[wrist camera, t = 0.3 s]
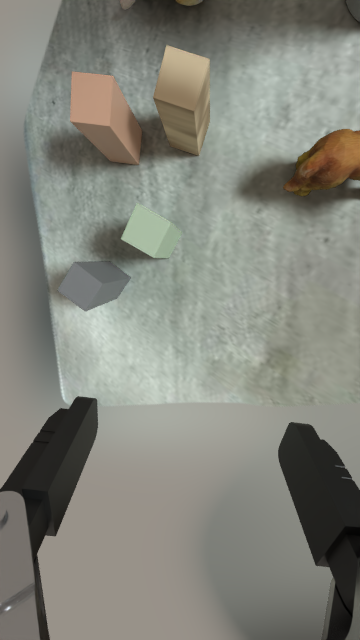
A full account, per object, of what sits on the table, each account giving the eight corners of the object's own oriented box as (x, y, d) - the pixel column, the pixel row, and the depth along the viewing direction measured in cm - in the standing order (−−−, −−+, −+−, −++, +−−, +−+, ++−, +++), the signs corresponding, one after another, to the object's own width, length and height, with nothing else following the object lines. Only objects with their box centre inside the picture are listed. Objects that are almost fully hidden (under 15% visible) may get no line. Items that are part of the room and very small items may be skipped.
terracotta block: (113, 127, 32) (71, 71, 23) (142, 131, 32) (113, 75, 22) (110, 161, 33) (70, 121, 24) (138, 165, 33) (109, 126, 23)
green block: (157, 218, 34) (137, 202, 25) (182, 232, 34) (171, 222, 25) (145, 244, 36) (120, 239, 26) (169, 258, 36) (153, 257, 26)
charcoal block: (109, 261, 37) (73, 261, 27) (131, 277, 37) (103, 284, 27) (96, 282, 38) (57, 290, 28) (117, 298, 38) (85, 311, 28)
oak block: (180, 111, 31) (166, 45, 21) (209, 121, 31) (209, 59, 21) (170, 146, 32) (153, 97, 22) (198, 155, 32) (194, 111, 22)
